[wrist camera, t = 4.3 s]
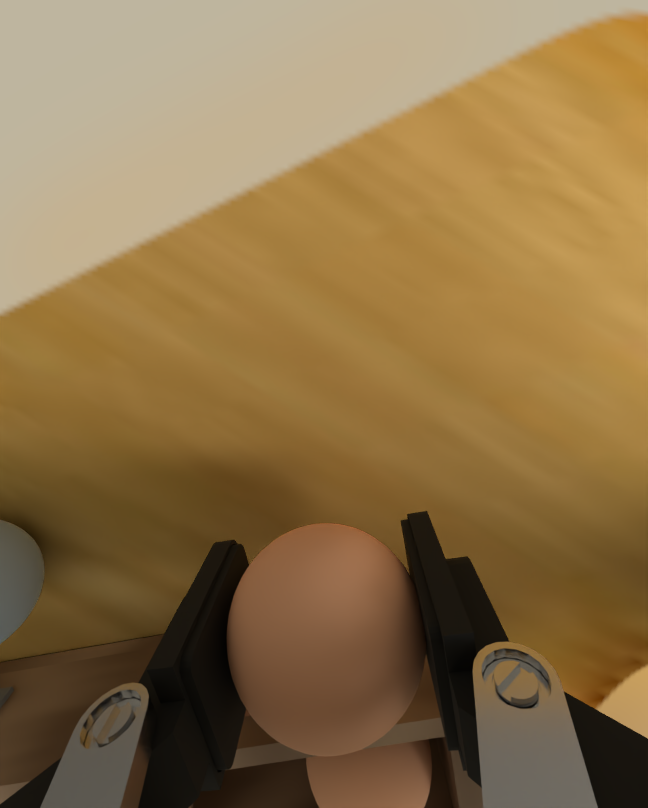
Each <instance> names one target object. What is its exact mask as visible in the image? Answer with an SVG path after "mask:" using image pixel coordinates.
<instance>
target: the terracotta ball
mask: <svg viewBox="0 0 648 808" xmlns="http://www.w3.org/2000/svg"><path fill="white" fill-rule="evenodd" d="M226 638H227V655H228V662H229V667H230V671H231V675H232V679H233V682H234V685H235V687H236V690H237V692H238V694H239V697H240V699H241V701H242V702H243V704H244V706H245V707H246V709H247V711H248V712H249V714H250V715H251V717H252V718H253V719H254V720H255V722H256V723H257V724H258V725H259V726H260V727H261V728H262V729H263V730H264V731H265V732H266V733H268V734H269V735H270V736H271V737H272V738H274V739H275V740H276V741H278V742H280V743H281V744H283V745H285V746H287V747H289V748H291V749H293V750H296V751H299V752H301V753H305V754H309V755H315V756H339V755H344V754H348V753H352V752H355V751H358V750H361V749H363V748H365V747H367V746H369V745H371V744H372V743H374V742H375V741H377V740H378V739H380V738H381V737H383V736H384V735H385V734H386V733H388V732H389V731H390V730H391V729H392V728H393V726H394V725H395V724H396V723H397V722H398V721H399V720H400V718H401V717H402V716H403V715H404V713H405V712H406V710H407V709H408V707H409V705H410V703H411V701H412V700H413V698H414V696H415V693H416V691H417V689H418V686H419V683H420V680H421V677H422V673H423V669H424V664H425V657H426V646H427V644H426V637H425V632H424V626H423V621H422V616H421V611H420V606H419V601H418V597H417V593H416V589H415V585H414V582H413V580H412V579H411V577H410V575H409V573H408V572H407V570H406V568H405V567H404V565H403V564H402V563H401V562H400V560H399V559H398V558H397V557H396V556H395V554H394V553H393V552H392V551H391V550H390V549H389V548H388V547H386V546H385V545H384V544H383V543H381V542H380V541H379V540H377V539H376V538H374V537H373V536H371V535H370V534H368V533H366V532H364V531H362V530H359V529H357V528H354V527H350V526H347V525H342V524H335V523H318V524H310V525H306V526H302V527H299V528H296V529H293V530H291V531H289V532H287V533H285V534H283V535H281V536H280V537H278V538H277V539H275V540H274V541H272V542H271V543H270V544H269V545H267V546H266V547H265V548H264V549H263V550H262V551H261V552H260V553H259V554H258V555H257V556H256V557H255V559H254V560H253V561H252V562H251V564H250V565H249V567H248V568H247V570H246V571H245V573H244V574H243V576H242V578H241V580H240V582H239V584H238V587H237V589H236V591H235V594H234V596H233V600H232V604H231V607H230V611H229V616H228V624H227V636H226Z"/></svg>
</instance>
